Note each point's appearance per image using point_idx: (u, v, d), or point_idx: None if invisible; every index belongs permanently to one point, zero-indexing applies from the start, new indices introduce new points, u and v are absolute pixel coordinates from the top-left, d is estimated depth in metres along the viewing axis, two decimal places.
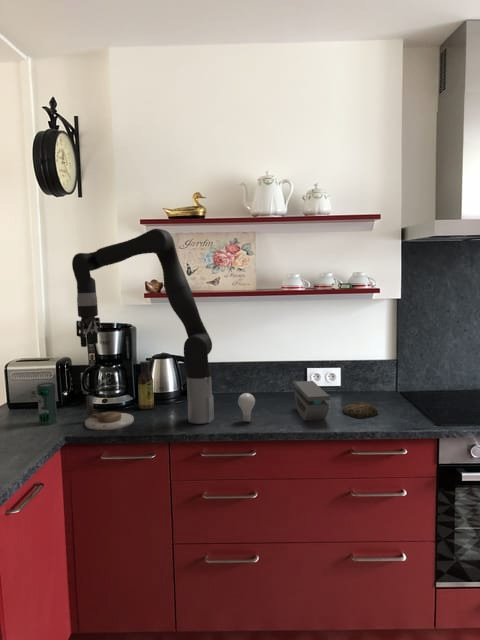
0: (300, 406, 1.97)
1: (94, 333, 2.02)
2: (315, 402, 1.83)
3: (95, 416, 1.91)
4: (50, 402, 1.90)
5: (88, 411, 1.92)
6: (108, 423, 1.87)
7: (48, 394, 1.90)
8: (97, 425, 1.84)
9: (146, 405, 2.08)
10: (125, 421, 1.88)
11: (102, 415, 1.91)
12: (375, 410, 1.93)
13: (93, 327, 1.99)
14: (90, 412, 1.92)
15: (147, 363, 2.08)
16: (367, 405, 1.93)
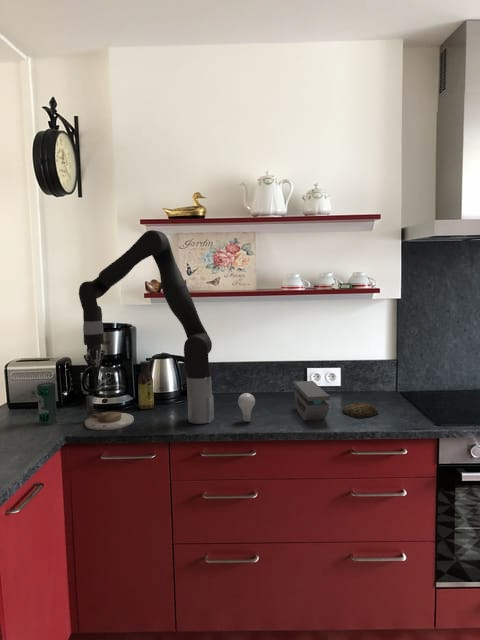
0: (300, 406, 1.97)
1: None
2: (315, 402, 1.83)
3: (95, 416, 1.91)
4: (50, 402, 1.90)
5: (88, 411, 1.92)
6: (108, 423, 1.87)
7: (48, 394, 1.90)
8: (97, 425, 1.84)
9: (146, 405, 2.08)
10: (125, 421, 1.88)
11: (102, 415, 1.91)
12: (375, 410, 1.93)
13: None
14: (90, 412, 1.92)
15: (147, 363, 2.08)
16: (367, 405, 1.93)
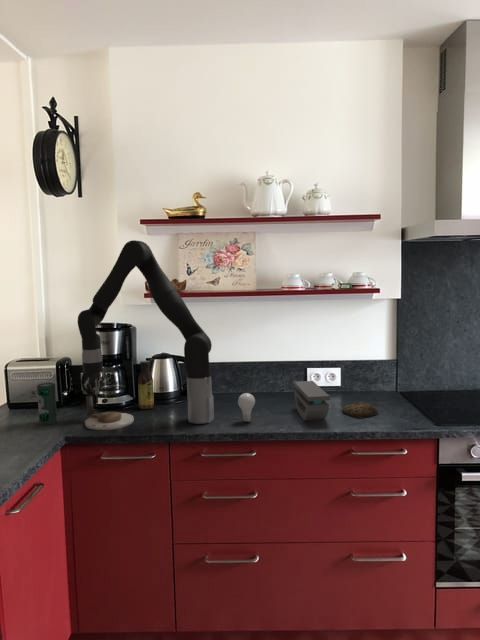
0: (300, 406, 1.97)
1: None
2: (315, 402, 1.83)
3: (95, 416, 1.91)
4: (50, 402, 1.90)
5: (88, 411, 1.92)
6: (108, 423, 1.87)
7: (48, 394, 1.90)
8: (97, 425, 1.84)
9: (146, 405, 2.08)
10: (125, 421, 1.88)
11: (102, 415, 1.91)
12: (375, 410, 1.93)
13: None
14: (90, 412, 1.92)
15: (147, 363, 2.08)
16: (367, 405, 1.93)
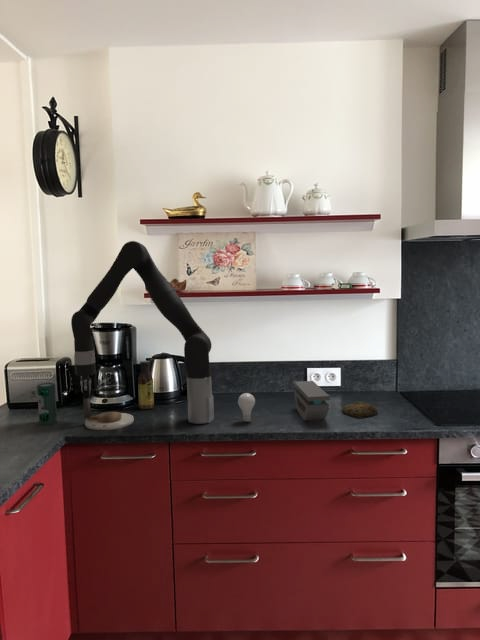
0: (300, 406, 1.97)
1: None
2: (315, 402, 1.83)
3: (94, 418, 1.89)
4: (50, 402, 1.90)
5: (86, 414, 1.88)
6: (108, 423, 1.87)
7: (48, 394, 1.90)
8: (97, 425, 1.84)
9: (146, 405, 2.08)
10: (125, 421, 1.88)
11: (102, 416, 1.90)
12: (374, 410, 1.93)
13: None
14: (89, 415, 1.89)
15: (147, 363, 2.08)
16: (366, 405, 1.94)
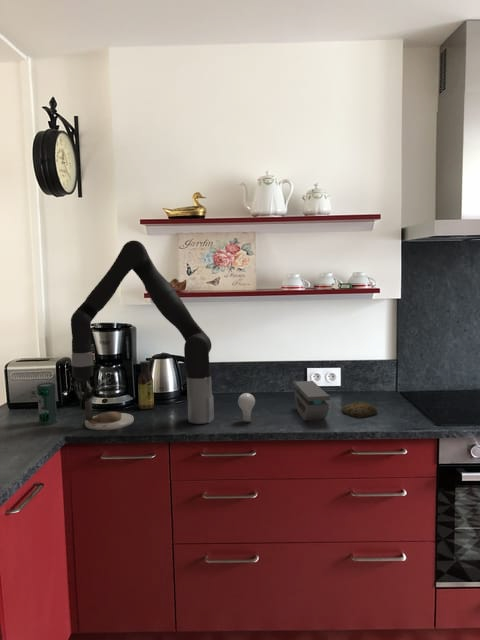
0: (300, 406, 1.97)
1: None
2: (315, 402, 1.83)
3: (97, 419, 1.87)
4: (50, 402, 1.90)
5: (90, 416, 1.85)
6: (108, 423, 1.87)
7: (48, 394, 1.90)
8: (97, 425, 1.84)
9: (146, 405, 2.08)
10: (125, 421, 1.88)
11: (104, 416, 1.89)
12: (374, 410, 1.94)
13: None
14: (91, 417, 1.86)
15: (147, 363, 2.08)
16: (366, 405, 1.94)
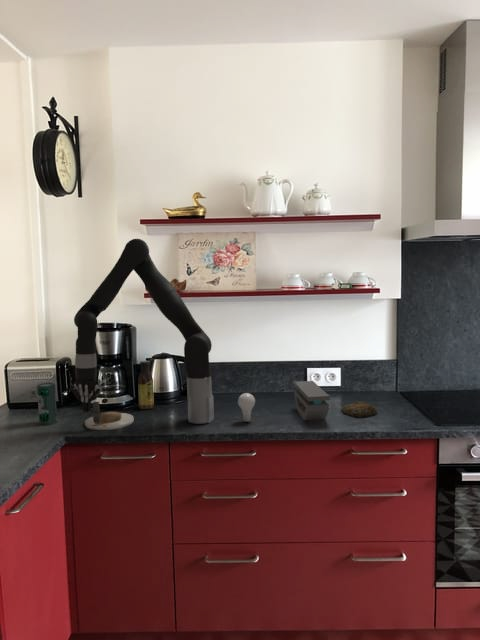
0: (300, 406, 1.97)
1: None
2: (315, 402, 1.83)
3: (103, 420, 1.86)
4: (50, 402, 1.90)
5: (99, 418, 1.83)
6: (108, 423, 1.87)
7: (48, 394, 1.90)
8: (97, 425, 1.84)
9: (146, 405, 2.08)
10: (125, 421, 1.88)
11: (107, 416, 1.89)
12: (374, 410, 1.94)
13: None
14: (100, 418, 1.84)
15: (147, 363, 2.08)
16: (366, 405, 1.94)
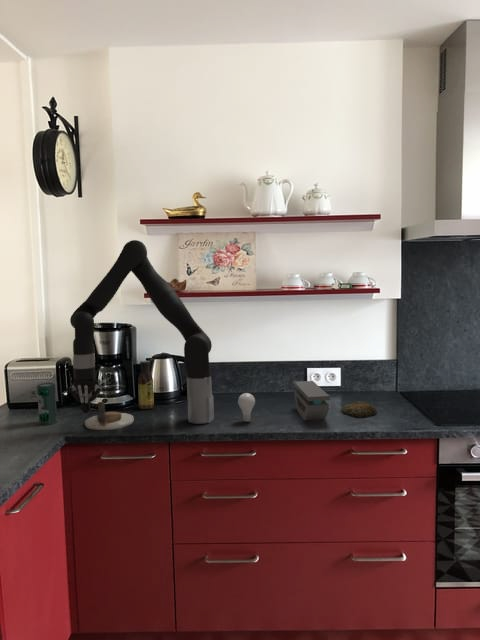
0: (300, 406, 1.97)
1: None
2: (315, 402, 1.83)
3: (107, 420, 1.86)
4: (50, 402, 1.90)
5: (104, 418, 1.83)
6: (108, 423, 1.87)
7: (48, 394, 1.90)
8: (97, 425, 1.84)
9: (146, 405, 2.08)
10: (125, 421, 1.88)
11: (109, 416, 1.89)
12: (374, 410, 1.94)
13: None
14: None
15: (147, 363, 2.08)
16: (366, 405, 1.94)
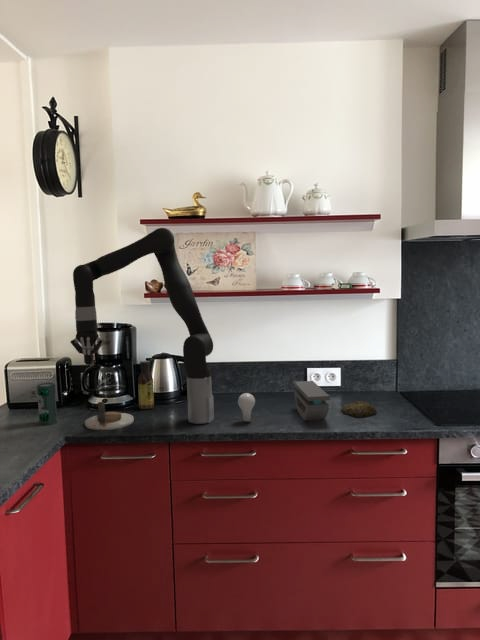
0: (300, 406, 1.97)
1: None
2: (315, 402, 1.83)
3: (107, 420, 1.86)
4: (50, 402, 1.90)
5: (105, 418, 1.83)
6: (108, 423, 1.87)
7: (48, 394, 1.90)
8: (97, 425, 1.84)
9: (146, 405, 2.08)
10: (125, 421, 1.88)
11: (109, 416, 1.89)
12: (374, 409, 1.94)
13: None
14: None
15: (147, 363, 2.08)
16: (366, 404, 1.94)
